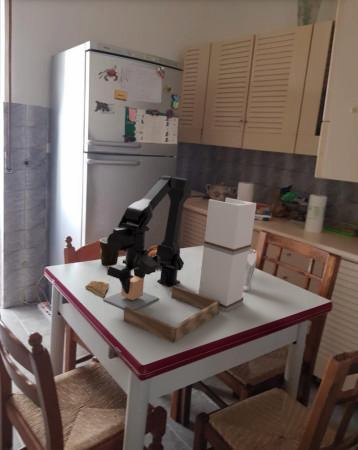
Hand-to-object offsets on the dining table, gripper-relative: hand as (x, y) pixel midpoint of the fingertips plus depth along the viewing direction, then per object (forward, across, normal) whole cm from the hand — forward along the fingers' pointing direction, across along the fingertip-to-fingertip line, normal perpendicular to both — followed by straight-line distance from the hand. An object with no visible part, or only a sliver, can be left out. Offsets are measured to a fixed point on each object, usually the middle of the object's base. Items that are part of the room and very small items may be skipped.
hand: (132, 291), depth 124 cm
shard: (+4, -1, +13) cm, 14 cm away
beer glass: (+3, +39, -22) cm, 45 cm away
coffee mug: (+3, +19, +30) cm, 36 cm away
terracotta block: (+2, 0, 0) cm, 2 cm away
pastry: (+4, +39, +18) cm, 43 cm away
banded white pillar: (+3, +21, -22) cm, 31 cm away
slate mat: (+3, 0, 0) cm, 3 cm away
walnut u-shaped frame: (+3, 0, -17) cm, 17 cm away
